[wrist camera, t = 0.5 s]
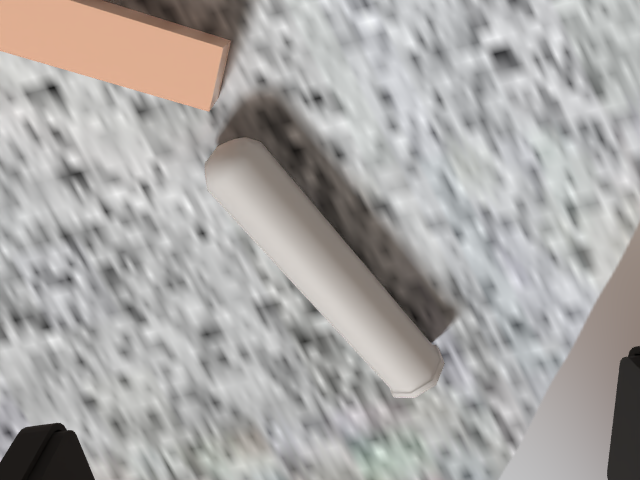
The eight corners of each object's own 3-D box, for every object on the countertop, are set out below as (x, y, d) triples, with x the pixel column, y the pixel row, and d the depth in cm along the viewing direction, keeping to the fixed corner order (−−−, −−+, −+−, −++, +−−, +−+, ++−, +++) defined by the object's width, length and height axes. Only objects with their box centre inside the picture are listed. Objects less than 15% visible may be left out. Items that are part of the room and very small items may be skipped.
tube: (176, 183, 37) (387, 406, 46) (229, 144, 35) (443, 389, 43) (207, 148, 42) (395, 358, 50) (256, 110, 39) (446, 340, 47)
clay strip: (-17, -38, 35) (-58, -40, 31) (231, 40, 37) (223, 47, 33) (-20, 27, 36) (-60, 33, 32) (218, 97, 39) (209, 111, 35)
